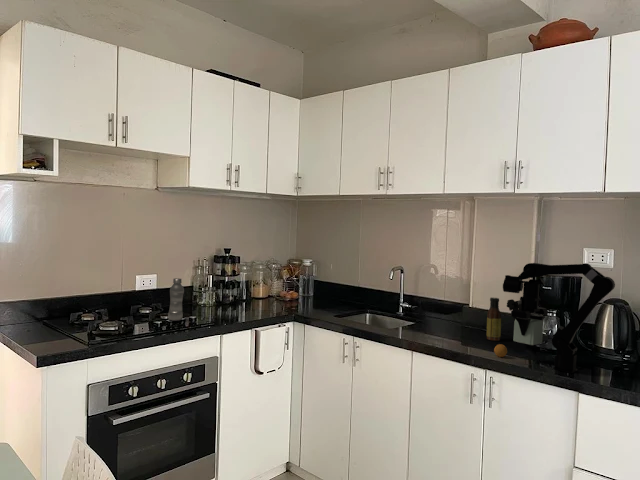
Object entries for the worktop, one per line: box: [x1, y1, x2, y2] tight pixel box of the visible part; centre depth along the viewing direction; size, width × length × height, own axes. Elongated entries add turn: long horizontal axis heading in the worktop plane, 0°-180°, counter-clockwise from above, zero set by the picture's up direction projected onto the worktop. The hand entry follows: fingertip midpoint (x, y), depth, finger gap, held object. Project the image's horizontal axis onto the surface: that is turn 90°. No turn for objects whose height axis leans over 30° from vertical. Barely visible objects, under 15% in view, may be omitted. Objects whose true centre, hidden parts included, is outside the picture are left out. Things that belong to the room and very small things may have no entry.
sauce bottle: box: [486, 297, 502, 342], centre depth 233 cm, size 6×6×20 cm
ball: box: [493, 343, 508, 358], centre depth 201 cm, size 5×5×5 cm
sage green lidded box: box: [512, 318, 544, 346], centre depth 195 cm, size 8×8×9 cm
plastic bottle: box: [167, 277, 185, 322], centre depth 234 cm, size 6×7×20 cm
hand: (528, 334), depth 195 cm, fingers closed on sage green lidded box, 8 cm apart
